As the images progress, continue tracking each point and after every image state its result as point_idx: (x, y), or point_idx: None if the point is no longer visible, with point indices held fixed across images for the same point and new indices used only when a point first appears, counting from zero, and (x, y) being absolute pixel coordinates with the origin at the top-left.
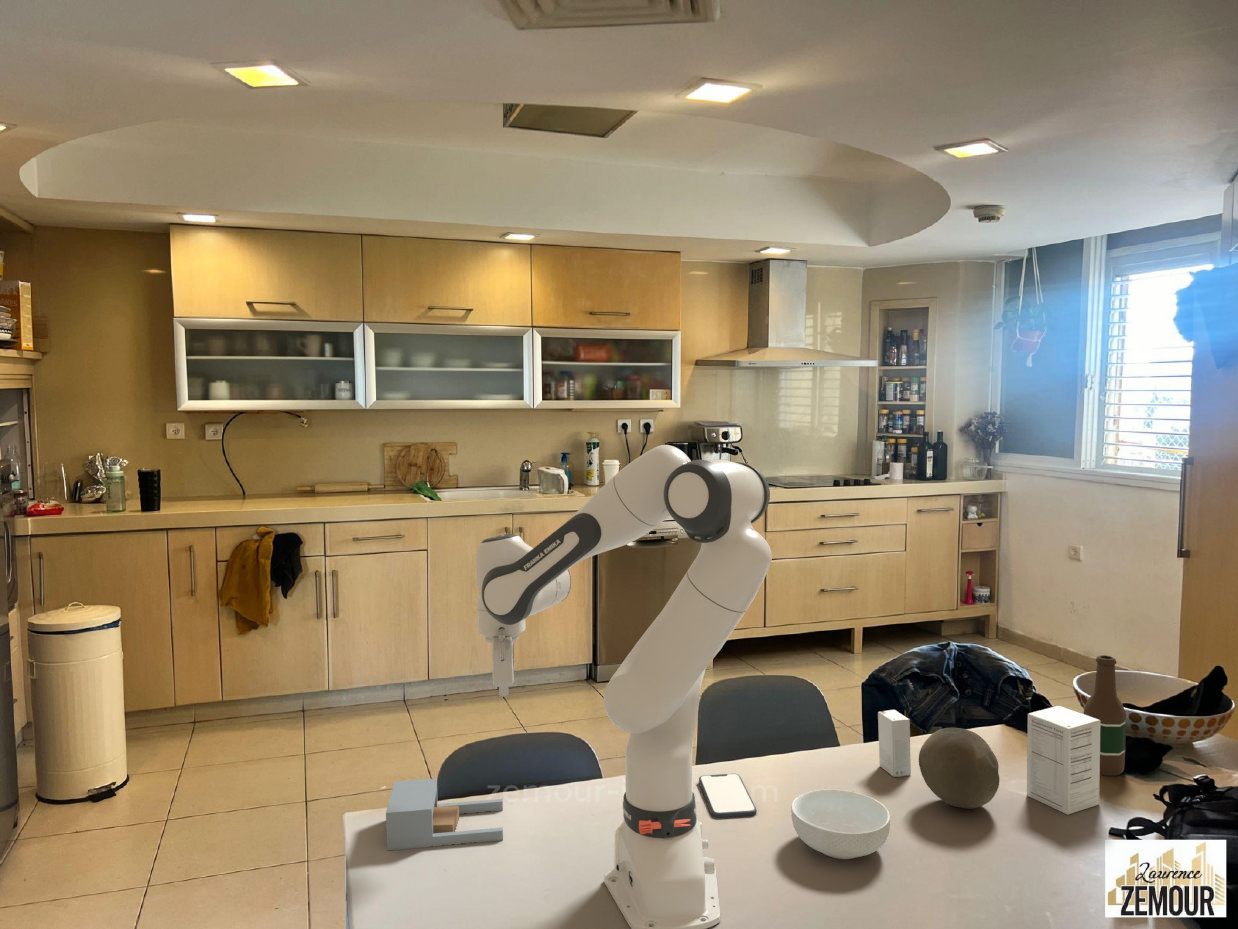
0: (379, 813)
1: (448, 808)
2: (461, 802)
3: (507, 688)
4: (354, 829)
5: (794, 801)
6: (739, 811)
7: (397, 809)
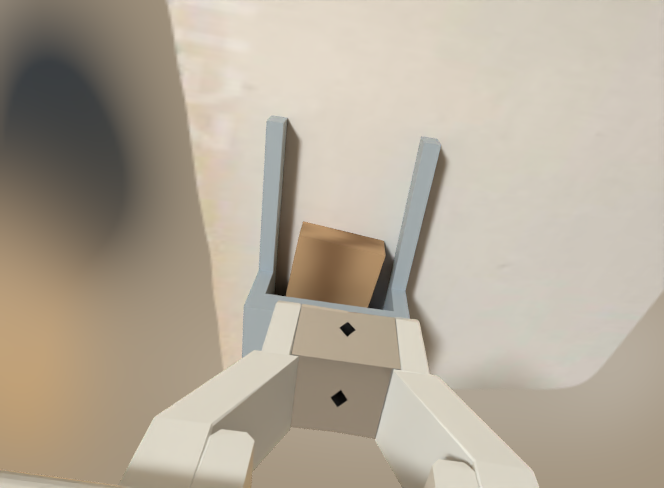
0: (238, 353)
1: (304, 257)
2: (263, 221)
3: (427, 370)
4: None
5: None
6: None
7: None
